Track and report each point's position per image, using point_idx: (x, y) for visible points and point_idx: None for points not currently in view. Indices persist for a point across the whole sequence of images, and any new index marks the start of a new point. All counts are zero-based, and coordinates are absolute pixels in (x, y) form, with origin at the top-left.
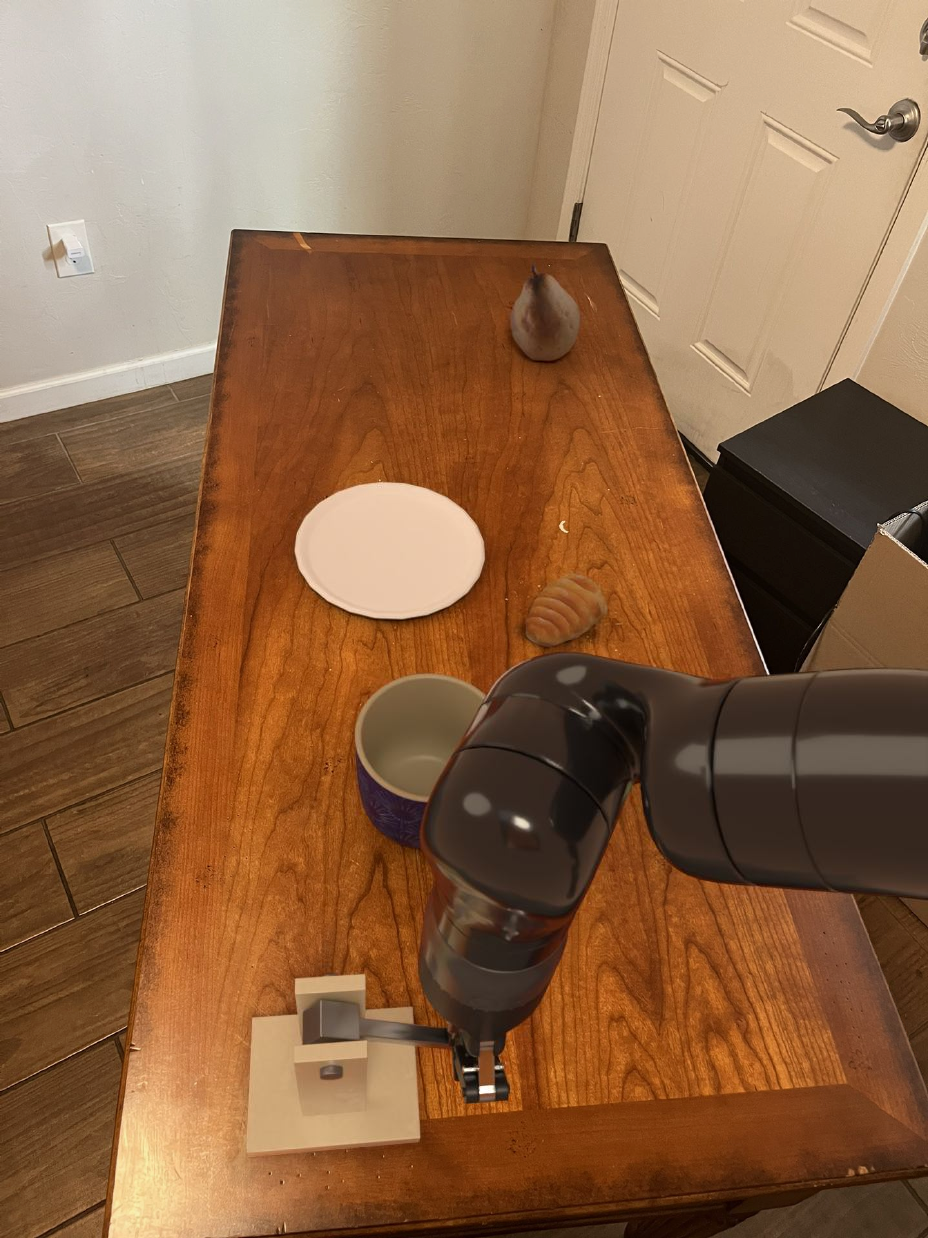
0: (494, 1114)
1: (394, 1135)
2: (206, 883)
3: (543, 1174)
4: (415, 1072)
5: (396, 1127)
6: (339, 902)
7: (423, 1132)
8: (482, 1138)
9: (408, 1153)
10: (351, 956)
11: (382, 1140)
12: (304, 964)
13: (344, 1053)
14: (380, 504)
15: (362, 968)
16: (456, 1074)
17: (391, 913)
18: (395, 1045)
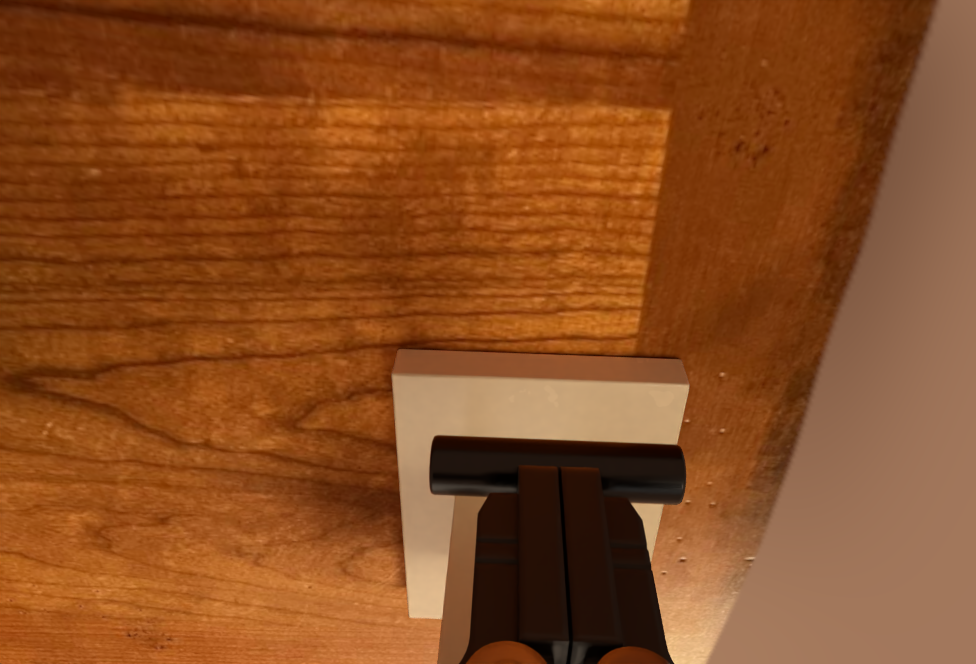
0: (664, 188)
1: (670, 430)
2: (163, 638)
3: (848, 77)
4: (546, 383)
5: (655, 427)
6: (154, 461)
7: (662, 347)
8: (711, 225)
9: (696, 378)
10: (274, 447)
11: None
12: (299, 520)
13: None
14: None
15: (299, 430)
16: (665, 504)
17: (159, 368)
18: (480, 415)
